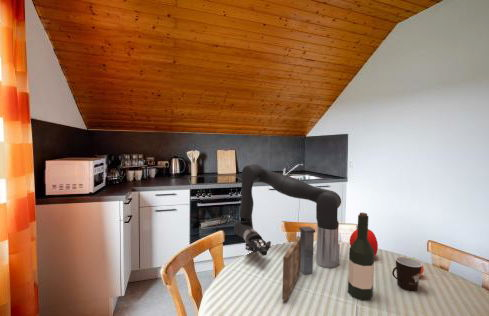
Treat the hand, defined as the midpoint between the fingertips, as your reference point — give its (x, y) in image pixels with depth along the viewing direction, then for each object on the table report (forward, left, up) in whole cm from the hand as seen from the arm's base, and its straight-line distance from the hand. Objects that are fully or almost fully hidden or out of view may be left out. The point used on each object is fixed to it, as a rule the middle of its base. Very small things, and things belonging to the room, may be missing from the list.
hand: (265, 253), depth 108 cm
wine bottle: (-28, +25, -8) cm, 38 cm away
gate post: (-17, +6, -7) cm, 19 cm away
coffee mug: (-48, +25, -8) cm, 55 cm away
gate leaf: (-6, +14, -6) cm, 17 cm away
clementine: (-60, +19, -8) cm, 63 cm away
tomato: (-52, -1, -8) cm, 53 cm away
